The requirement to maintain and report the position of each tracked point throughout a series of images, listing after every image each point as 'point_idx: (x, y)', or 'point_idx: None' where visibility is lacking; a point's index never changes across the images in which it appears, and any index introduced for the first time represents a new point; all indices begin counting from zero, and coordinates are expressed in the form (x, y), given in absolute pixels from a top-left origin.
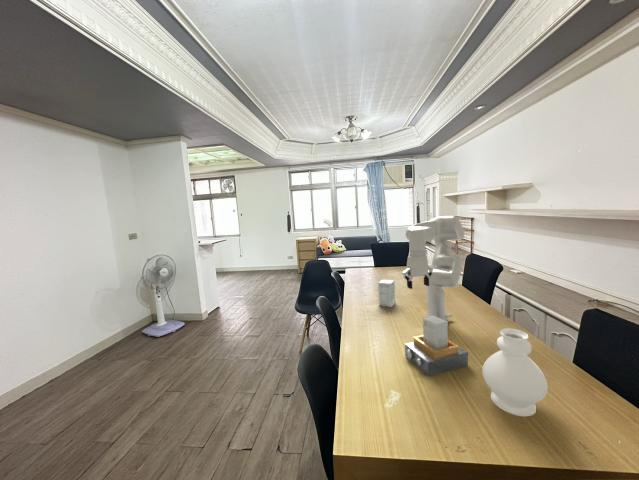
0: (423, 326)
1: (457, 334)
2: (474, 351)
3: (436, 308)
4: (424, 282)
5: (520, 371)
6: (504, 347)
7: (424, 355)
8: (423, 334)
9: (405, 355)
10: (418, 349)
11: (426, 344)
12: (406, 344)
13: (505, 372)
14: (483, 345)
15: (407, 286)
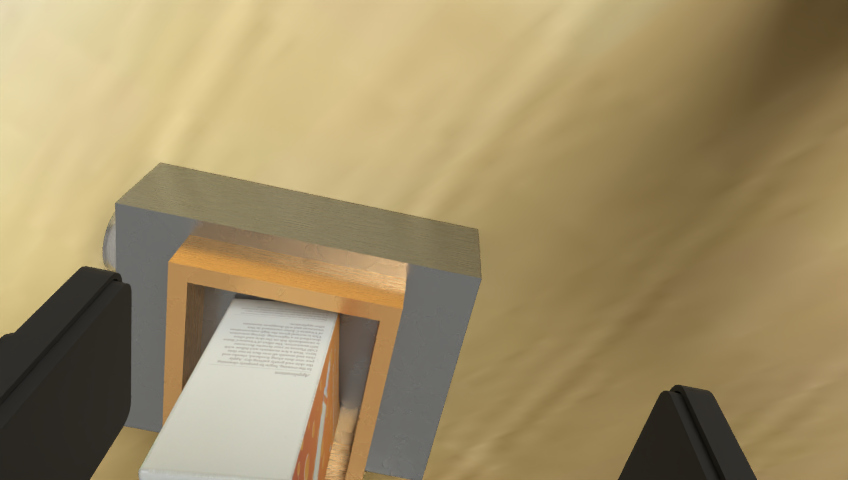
0: (172, 411)
1: (777, 177)
2: (603, 368)
3: None
4: (673, 464)
5: None
6: None
7: (148, 374)
8: (201, 357)
9: (158, 166)
10: (160, 311)
11: (182, 383)
12: (120, 217)
13: None
14: (727, 362)
15: (75, 275)
